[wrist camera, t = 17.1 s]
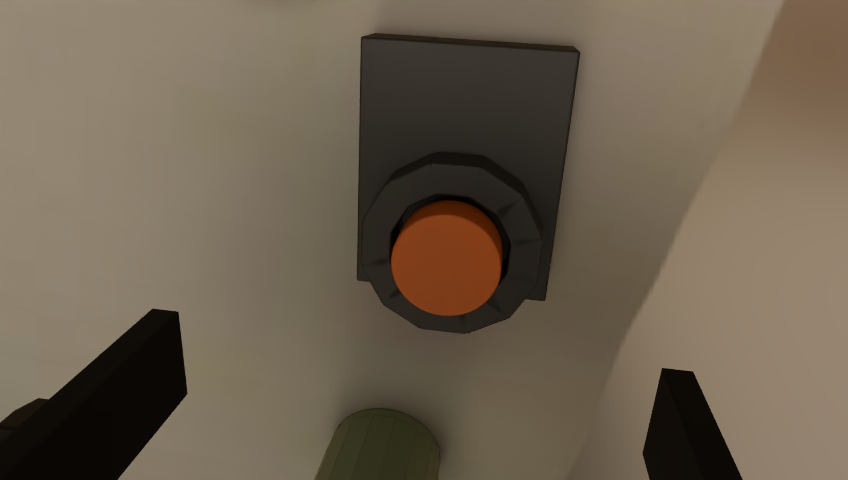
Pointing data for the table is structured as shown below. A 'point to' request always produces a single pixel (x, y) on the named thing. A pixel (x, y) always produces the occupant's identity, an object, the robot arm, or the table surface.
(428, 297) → the round orange button cap
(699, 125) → the table surface
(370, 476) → the green cup
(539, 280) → the button housing
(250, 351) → the table surface
